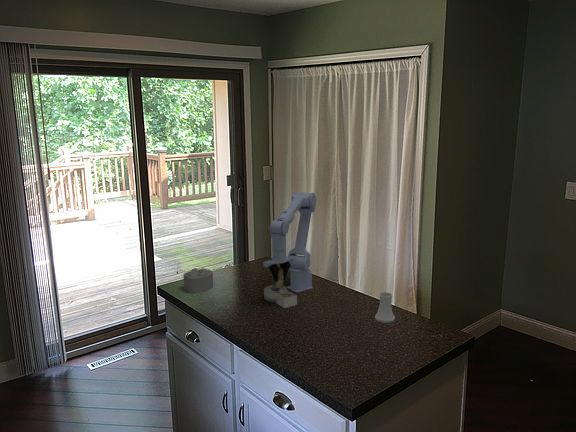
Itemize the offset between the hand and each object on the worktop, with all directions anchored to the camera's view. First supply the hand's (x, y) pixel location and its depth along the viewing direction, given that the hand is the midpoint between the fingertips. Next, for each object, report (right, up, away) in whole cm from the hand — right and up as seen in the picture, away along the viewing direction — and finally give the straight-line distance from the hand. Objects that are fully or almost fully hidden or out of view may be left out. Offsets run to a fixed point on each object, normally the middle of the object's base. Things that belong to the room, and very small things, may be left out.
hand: (279, 280), depth 198 cm
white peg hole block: (0, -9, +4) cm, 10 cm away
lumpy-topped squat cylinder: (-37, -6, +20) cm, 42 cm away
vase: (+41, -13, -15) cm, 46 cm away
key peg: (0, -3, +1) cm, 3 cm away
